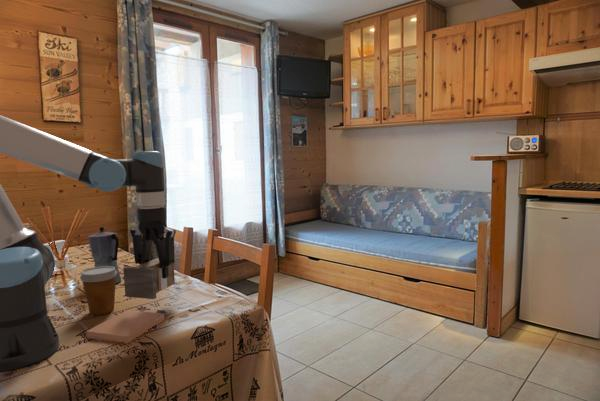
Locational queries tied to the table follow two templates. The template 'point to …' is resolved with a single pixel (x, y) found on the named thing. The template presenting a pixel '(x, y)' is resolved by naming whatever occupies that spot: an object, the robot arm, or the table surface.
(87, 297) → the disposable coffee cup
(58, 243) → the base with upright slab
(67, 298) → the table surface
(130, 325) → the tile
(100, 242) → the moka pot
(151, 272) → the tan flared wedge
